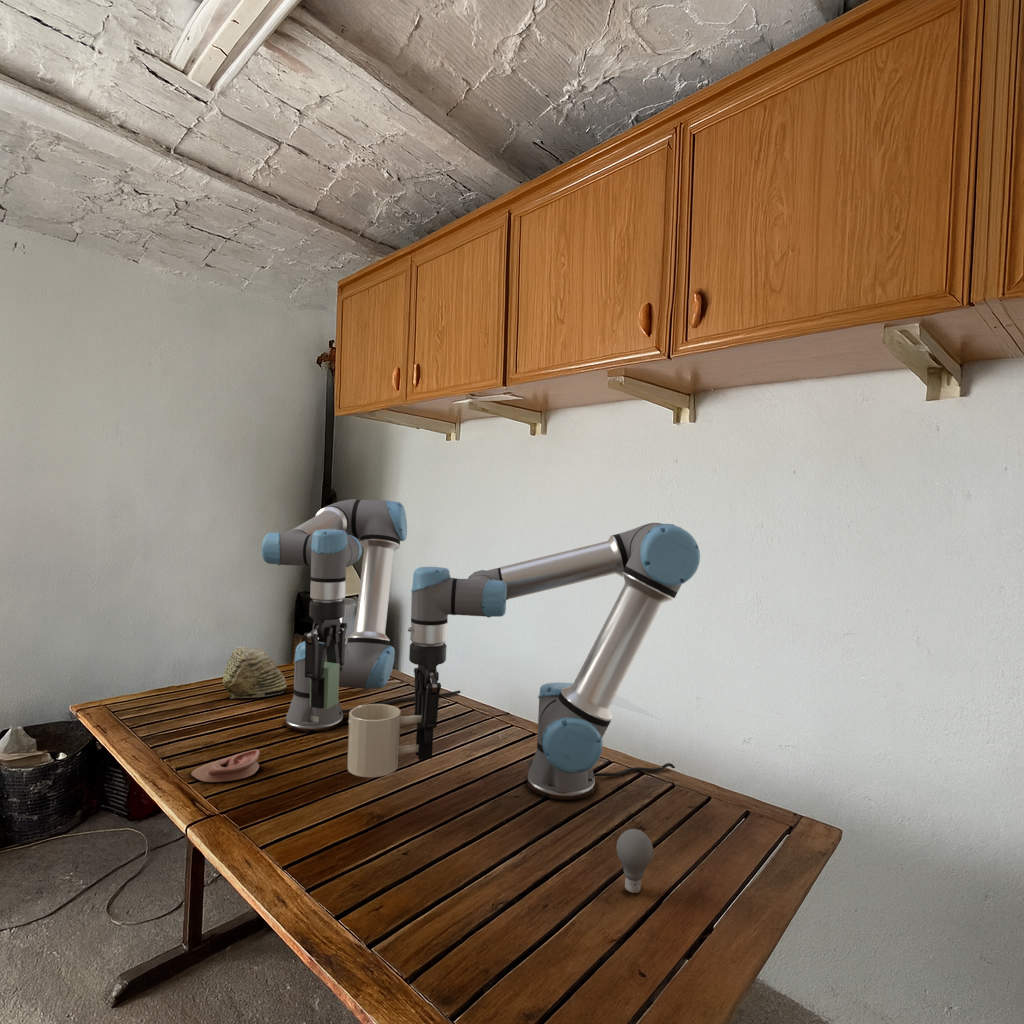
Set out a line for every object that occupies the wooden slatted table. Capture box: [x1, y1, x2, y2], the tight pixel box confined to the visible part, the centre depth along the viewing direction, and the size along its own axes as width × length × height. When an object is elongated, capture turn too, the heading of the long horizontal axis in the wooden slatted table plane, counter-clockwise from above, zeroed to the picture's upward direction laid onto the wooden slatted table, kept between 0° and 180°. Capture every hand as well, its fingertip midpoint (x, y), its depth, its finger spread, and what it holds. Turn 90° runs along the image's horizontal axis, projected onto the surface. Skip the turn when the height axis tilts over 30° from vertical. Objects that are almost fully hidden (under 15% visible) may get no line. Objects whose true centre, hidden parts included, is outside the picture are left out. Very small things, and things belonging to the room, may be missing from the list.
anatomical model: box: [190, 748, 261, 783], centre depth 143 cm, size 13×4×12 cm
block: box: [310, 662, 340, 709], centre depth 141 cm, size 4×4×9 cm
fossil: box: [222, 646, 288, 699], centre depth 198 cm, size 9×18×15 cm, turn 132°
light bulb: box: [615, 828, 654, 894], centre depth 106 cm, size 6×6×10 cm
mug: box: [346, 703, 421, 778], centre depth 128 cm, size 16×10×11 cm, turn 111°
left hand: (324, 703), depth 141 cm, fingers closed on block, 4 cm apart
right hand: (423, 756), depth 130 cm, fingers closed on mug, 2 cm apart
